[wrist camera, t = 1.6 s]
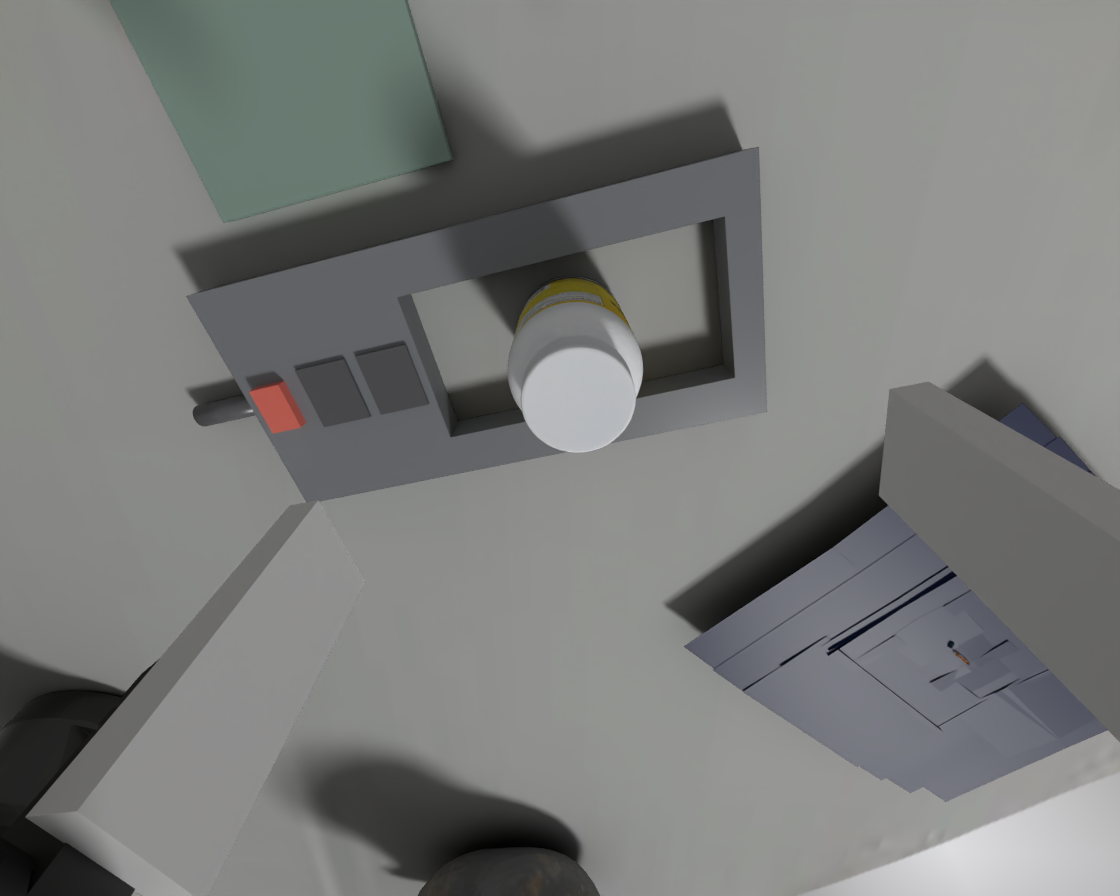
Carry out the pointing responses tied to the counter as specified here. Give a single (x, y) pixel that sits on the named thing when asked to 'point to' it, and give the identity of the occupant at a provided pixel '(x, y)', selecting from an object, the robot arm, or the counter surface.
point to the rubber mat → (289, 94)
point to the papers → (900, 660)
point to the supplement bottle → (574, 365)
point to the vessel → (510, 875)
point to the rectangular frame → (406, 357)
